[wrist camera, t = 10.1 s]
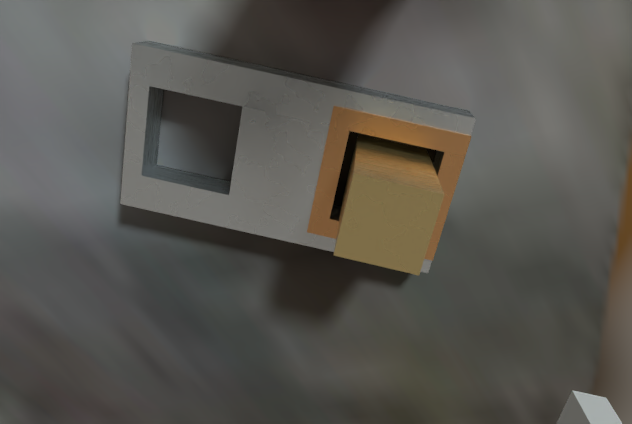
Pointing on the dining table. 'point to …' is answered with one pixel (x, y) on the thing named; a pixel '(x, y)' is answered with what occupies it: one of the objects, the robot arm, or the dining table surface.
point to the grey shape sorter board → (275, 144)
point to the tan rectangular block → (388, 205)
